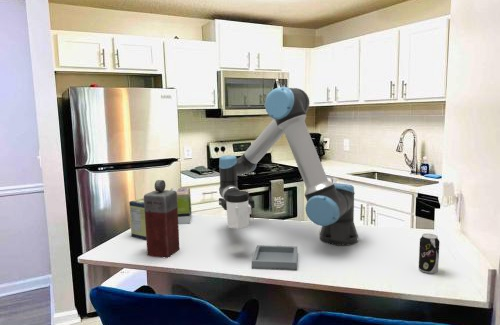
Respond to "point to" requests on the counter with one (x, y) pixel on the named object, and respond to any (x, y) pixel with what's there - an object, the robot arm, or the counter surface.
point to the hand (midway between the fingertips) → (243, 210)
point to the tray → (275, 257)
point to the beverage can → (429, 253)
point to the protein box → (137, 218)
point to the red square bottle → (161, 221)
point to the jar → (242, 202)
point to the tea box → (183, 205)
